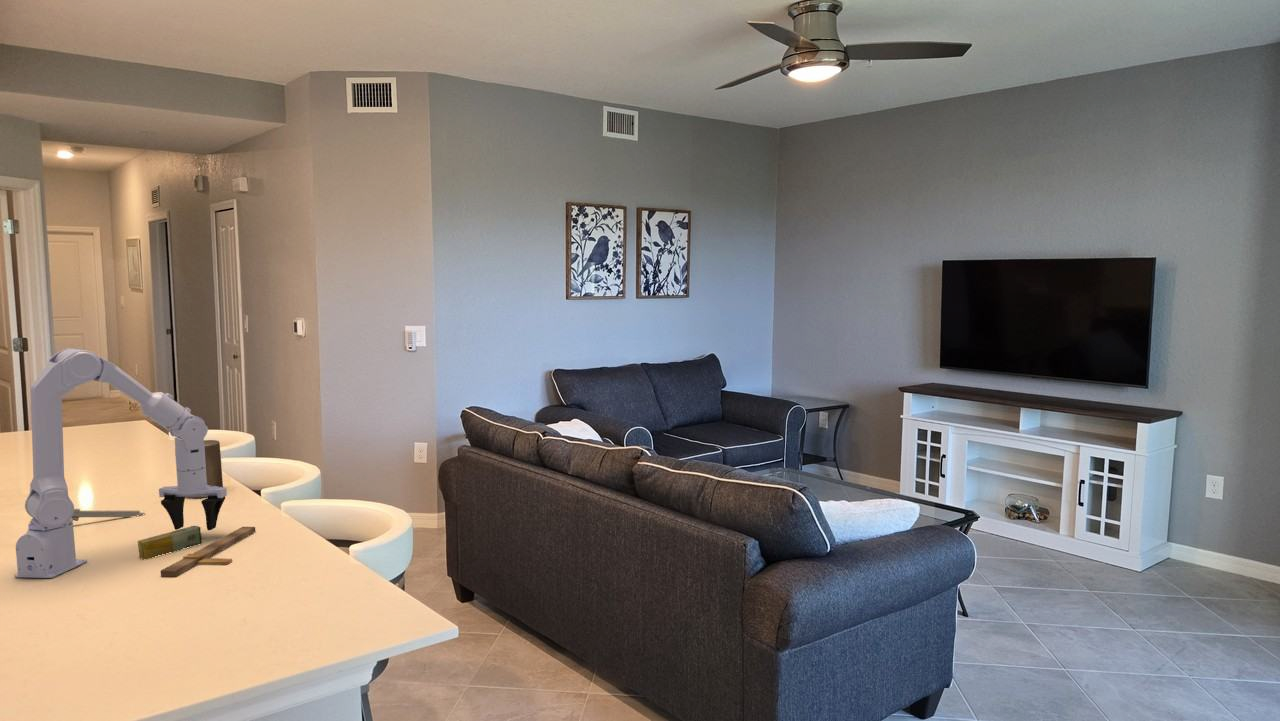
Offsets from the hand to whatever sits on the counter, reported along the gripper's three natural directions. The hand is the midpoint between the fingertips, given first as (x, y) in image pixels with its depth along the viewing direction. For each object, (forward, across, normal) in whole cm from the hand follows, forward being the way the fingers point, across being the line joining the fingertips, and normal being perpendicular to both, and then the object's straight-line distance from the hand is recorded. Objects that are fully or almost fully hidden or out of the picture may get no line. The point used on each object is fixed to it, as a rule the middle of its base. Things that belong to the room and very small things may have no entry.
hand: (195, 528), depth 185 cm
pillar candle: (+2, +21, -35) cm, 41 cm away
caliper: (+2, +31, -9) cm, 32 cm away
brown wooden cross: (+2, -13, +10) cm, 16 cm away
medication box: (+2, 0, +9) cm, 9 cm away
